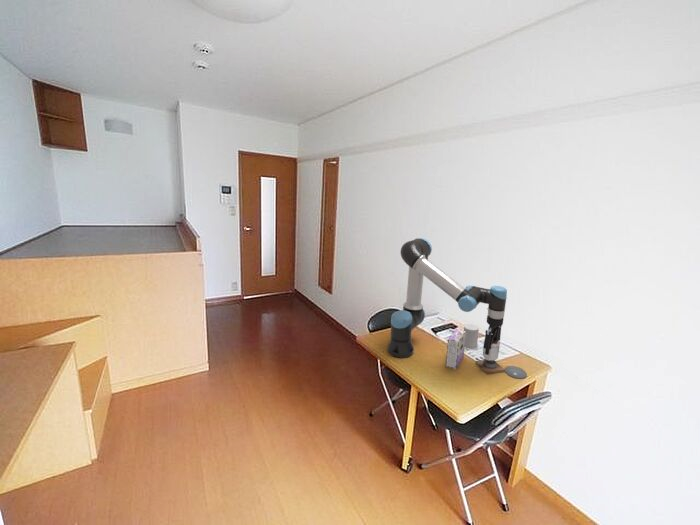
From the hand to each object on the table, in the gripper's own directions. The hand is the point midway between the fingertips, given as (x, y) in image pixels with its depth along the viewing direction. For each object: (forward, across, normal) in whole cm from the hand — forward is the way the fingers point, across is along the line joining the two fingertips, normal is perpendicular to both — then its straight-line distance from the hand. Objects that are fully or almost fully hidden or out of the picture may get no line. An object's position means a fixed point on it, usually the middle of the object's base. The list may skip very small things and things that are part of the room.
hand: (490, 356), depth 161 cm
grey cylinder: (0, 0, 0) cm, 0 cm away
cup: (+7, -14, -18) cm, 24 cm away
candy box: (+7, +8, -15) cm, 18 cm away
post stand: (+7, 0, 0) cm, 7 cm away
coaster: (+6, -5, +11) cm, 14 cm away
